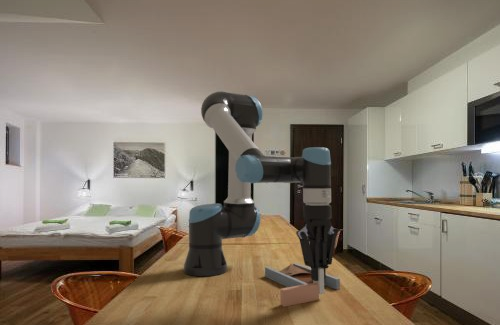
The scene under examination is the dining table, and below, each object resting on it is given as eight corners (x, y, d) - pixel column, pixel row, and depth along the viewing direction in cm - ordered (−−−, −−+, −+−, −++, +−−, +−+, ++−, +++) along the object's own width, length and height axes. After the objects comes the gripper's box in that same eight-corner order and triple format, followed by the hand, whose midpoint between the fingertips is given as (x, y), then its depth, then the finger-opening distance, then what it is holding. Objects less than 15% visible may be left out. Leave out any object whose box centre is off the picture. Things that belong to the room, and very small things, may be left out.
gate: (284, 306, 84) (283, 290, 84) (280, 304, 86) (280, 288, 86) (318, 299, 89) (318, 284, 90) (315, 297, 91) (314, 282, 91)
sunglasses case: (270, 275, 113) (279, 257, 115) (286, 284, 115) (294, 266, 117) (297, 291, 96) (307, 269, 98) (315, 301, 98) (325, 279, 100)
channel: (305, 295, 92) (305, 284, 92) (264, 276, 112) (264, 267, 112) (339, 289, 98) (339, 278, 98) (295, 271, 117) (295, 263, 118)
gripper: (306, 205, 86) (308, 300, 84) (345, 204, 92) (347, 292, 90) (289, 204, 92) (290, 292, 91) (326, 202, 98) (328, 285, 97)
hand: (318, 292), depth 90 cm, fingers closed
